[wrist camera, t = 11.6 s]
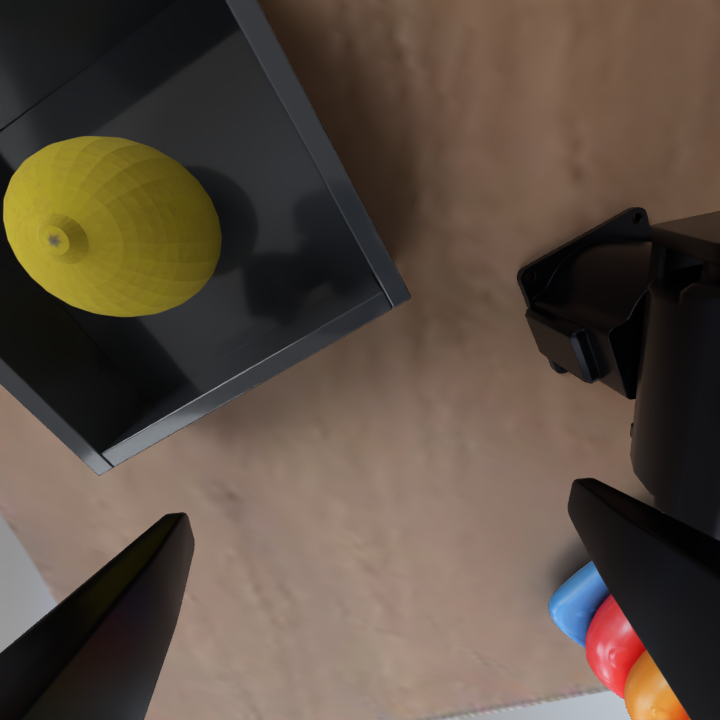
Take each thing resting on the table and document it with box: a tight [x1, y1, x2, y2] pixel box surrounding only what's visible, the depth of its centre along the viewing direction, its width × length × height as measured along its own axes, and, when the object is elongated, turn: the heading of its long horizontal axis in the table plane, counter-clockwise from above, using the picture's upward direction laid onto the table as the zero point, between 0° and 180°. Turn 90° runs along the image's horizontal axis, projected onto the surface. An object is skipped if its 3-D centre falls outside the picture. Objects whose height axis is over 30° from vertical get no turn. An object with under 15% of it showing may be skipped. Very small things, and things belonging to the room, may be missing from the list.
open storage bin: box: [0, 0, 411, 476], centre depth 15 cm, size 15×14×5 cm
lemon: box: [3, 136, 222, 317], centre depth 13 cm, size 6×6×8 cm
